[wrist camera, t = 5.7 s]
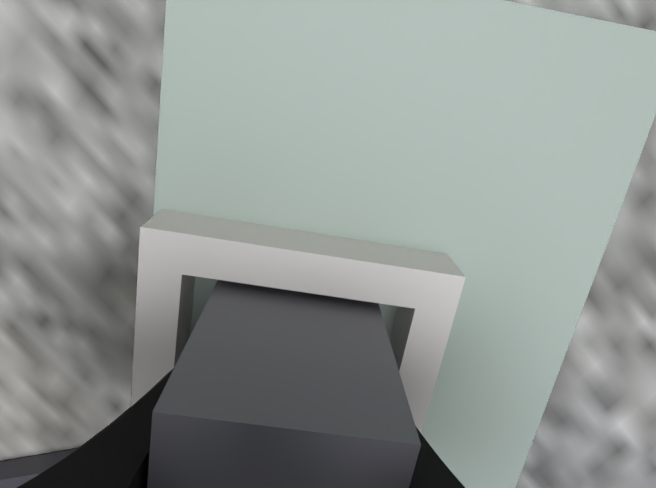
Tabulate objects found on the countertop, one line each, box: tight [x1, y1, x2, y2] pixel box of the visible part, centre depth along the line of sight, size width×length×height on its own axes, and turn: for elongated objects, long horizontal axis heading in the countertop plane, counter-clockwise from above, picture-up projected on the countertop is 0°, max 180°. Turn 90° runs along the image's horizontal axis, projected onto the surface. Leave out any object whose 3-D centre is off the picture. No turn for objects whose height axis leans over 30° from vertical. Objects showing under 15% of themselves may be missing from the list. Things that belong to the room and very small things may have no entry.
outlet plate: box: [131, 0, 656, 488], centre depth 13 cm, size 16×12×3 cm
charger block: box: [147, 280, 421, 488], centre depth 10 cm, size 4×4×6 cm
